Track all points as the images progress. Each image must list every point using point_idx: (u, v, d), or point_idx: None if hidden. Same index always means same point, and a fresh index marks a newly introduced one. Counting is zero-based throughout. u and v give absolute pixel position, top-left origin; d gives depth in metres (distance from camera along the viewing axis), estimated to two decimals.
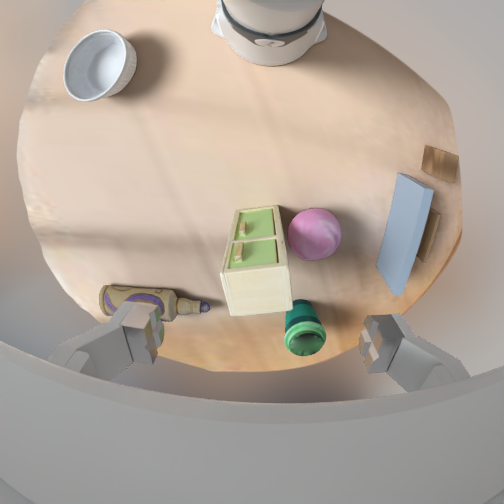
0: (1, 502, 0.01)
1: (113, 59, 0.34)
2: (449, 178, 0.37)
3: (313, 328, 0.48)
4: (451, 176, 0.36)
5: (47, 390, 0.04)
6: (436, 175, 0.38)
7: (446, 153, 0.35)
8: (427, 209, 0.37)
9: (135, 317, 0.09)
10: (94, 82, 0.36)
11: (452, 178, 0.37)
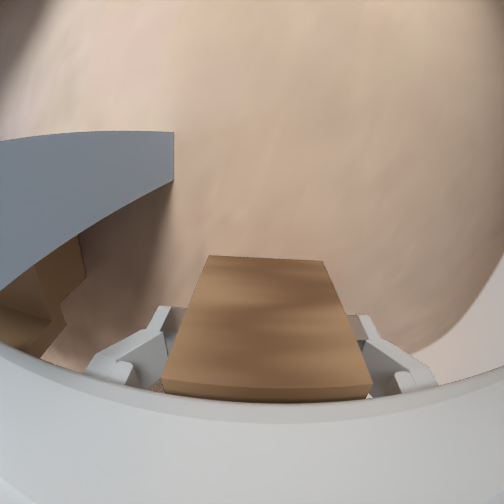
0: (1, 502, 0.01)
1: None
2: None
3: None
4: None
5: (47, 390, 0.04)
6: (187, 340, 0.07)
7: (360, 392, 0.06)
8: None
9: (175, 322, 0.09)
10: None
11: None
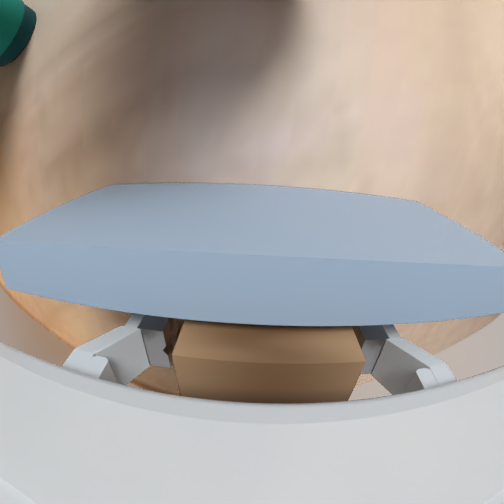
0: (1, 502, 0.01)
1: None
2: None
3: None
4: None
5: (47, 390, 0.04)
6: (195, 322, 0.08)
7: (354, 369, 0.06)
8: (465, 309, 0.07)
9: (153, 319, 0.09)
10: None
11: None
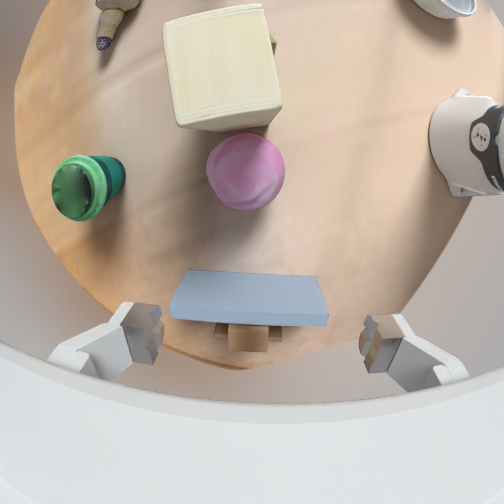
0: (1, 502, 0.01)
1: None
2: (232, 343, 0.34)
3: (97, 196, 0.27)
4: (236, 345, 0.34)
5: (47, 390, 0.04)
6: (231, 323, 0.34)
7: (266, 334, 0.33)
8: (301, 323, 0.33)
9: (135, 317, 0.09)
10: None
11: (233, 347, 0.34)
